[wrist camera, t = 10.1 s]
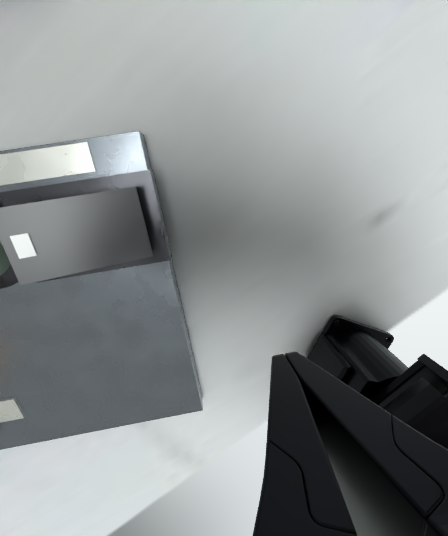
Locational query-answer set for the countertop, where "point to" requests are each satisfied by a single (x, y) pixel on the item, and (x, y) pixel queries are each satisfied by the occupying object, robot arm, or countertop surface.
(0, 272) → the button
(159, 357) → the panel
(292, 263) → the countertop surface
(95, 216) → the labelled grey box
